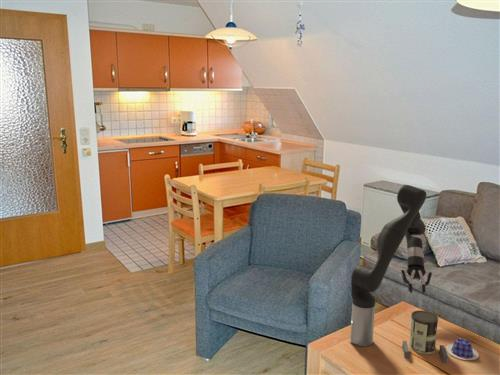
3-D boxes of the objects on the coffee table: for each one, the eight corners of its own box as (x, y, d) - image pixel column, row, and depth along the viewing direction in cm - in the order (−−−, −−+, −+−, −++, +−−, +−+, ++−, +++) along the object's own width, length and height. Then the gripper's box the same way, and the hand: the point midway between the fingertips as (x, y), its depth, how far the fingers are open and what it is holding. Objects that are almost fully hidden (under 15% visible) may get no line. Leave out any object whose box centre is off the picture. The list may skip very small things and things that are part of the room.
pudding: (476, 348, 184) (478, 337, 183) (480, 364, 173) (481, 352, 172) (445, 342, 188) (446, 331, 187) (446, 358, 178) (448, 346, 176)
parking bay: (404, 358, 177) (405, 351, 176) (402, 347, 184) (402, 340, 184) (447, 363, 173) (448, 356, 173) (443, 351, 181) (443, 345, 181)
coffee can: (432, 342, 188) (435, 311, 186) (437, 355, 179) (440, 323, 176) (407, 339, 190) (409, 309, 188) (410, 352, 181) (413, 321, 178)
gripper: (400, 254, 209) (401, 288, 200) (432, 256, 206) (435, 291, 197) (398, 260, 215) (399, 294, 206) (429, 263, 212) (432, 297, 203)
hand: (417, 292), depth 202 cm, fingers open, 4 cm apart
